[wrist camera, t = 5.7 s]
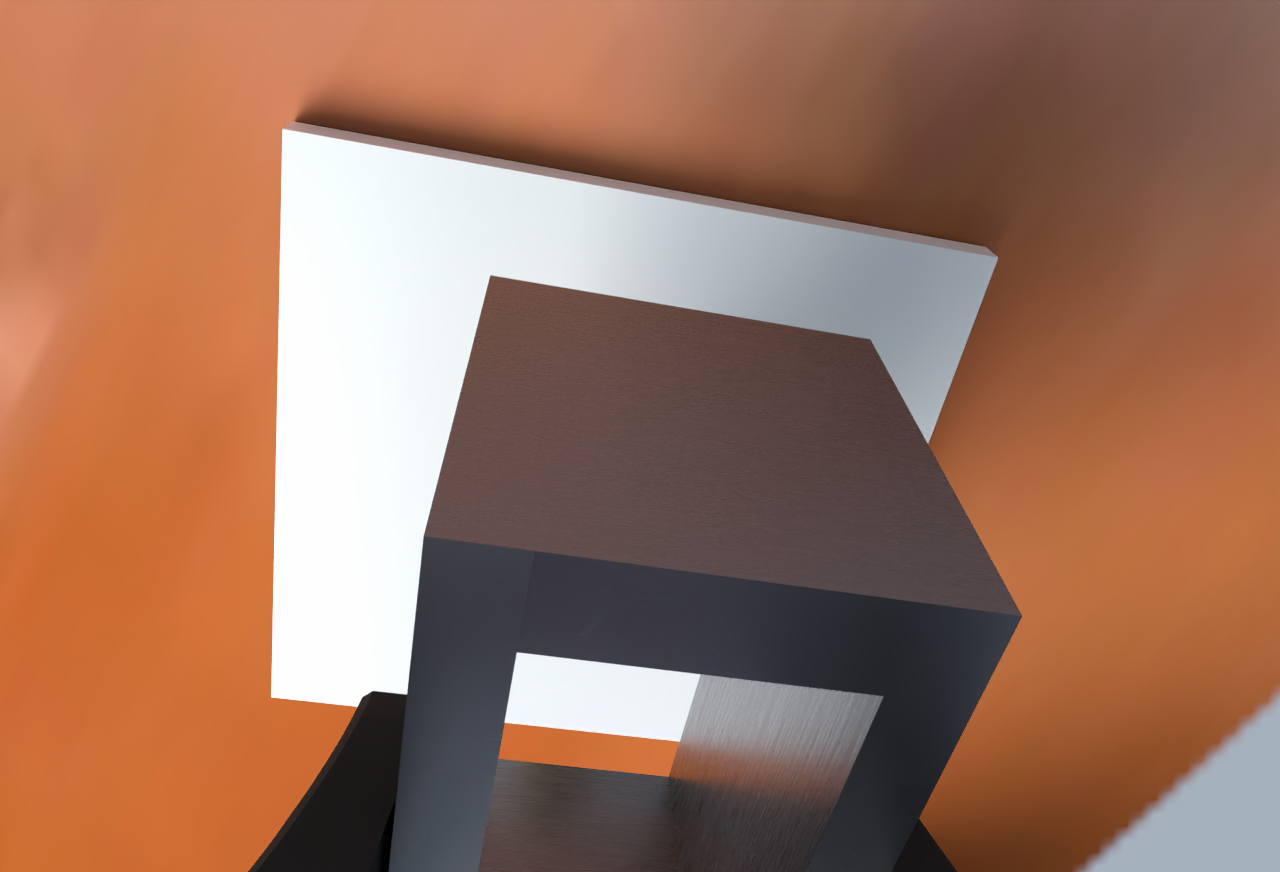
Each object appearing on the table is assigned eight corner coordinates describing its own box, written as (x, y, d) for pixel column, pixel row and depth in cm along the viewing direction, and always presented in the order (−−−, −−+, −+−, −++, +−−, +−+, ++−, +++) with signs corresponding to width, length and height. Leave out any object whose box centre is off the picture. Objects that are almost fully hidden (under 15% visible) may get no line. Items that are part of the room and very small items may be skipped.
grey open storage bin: (703, 822, 16) (739, 1167, 12) (424, 794, 16) (359, 1147, 12) (870, 339, 12) (1021, 616, 8) (490, 275, 11) (423, 535, 7)
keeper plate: (805, 735, 23) (839, 869, 20) (279, 677, 22) (225, 811, 18) (986, 246, 17) (1072, 324, 14) (292, 121, 16) (219, 176, 13)
